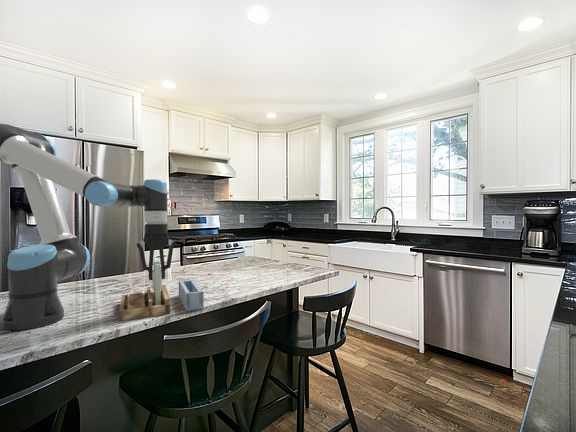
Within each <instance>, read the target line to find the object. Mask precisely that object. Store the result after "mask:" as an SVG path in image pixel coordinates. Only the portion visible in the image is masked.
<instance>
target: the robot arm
mask: <svg viewBox="0 0 576 432" xmlns="http://www.w3.org/2000/svg"><path fill="white" fill-rule="evenodd" d="M57 154H58V153H57V148H56V146H55V143H54V142H53V141H52V140H51V139H50V138H49V137H46V136H45V135H43V134H41V133H39V132H36V131H29V130H27V129H24V128H20V127H17V126H14V125H11V124H8V123H0V161H1V162H2V163H5V164H7V165H10V166H11V168H12V172H14V173H16V174H18V175H19V176H20V178H21V182H22V184H23V188H24V191H25V194H26V197H27V199H28V203H29V205H30V208H31V212H32V215H33V218H34V220H35V221H34V222H35V224H36V227H37V231H38V233H39V236H40V239H41V240H40V242H39V244H35V245H31V246H30V245H29V246H23V247H20V248H16V249H13V250H12V251H11V252H10V253H9V254H8V257H7V264H6V267H7V282H8V285H7V286H8V302H7V305H6V306H5V310H4V313H3V315H2V318H1V329H3V330H5V331H22V330H30V329H36V328H40V327H44V326H49V325H51V324H53V323H56V322H58V321H61V320H63V318H64V317H65V308H64V307H63V304H62V302H61V299H60V297H59V295H58V281H59V282H60V281H62V280H65V279H68V278H72V277H76V276H78V275H80V274H81V273H83V272H84V271H85V270H86V269H87V268H88V266H89V264H90V261H91V253H90V251H89V249H88V248H87V246H84V245H83V244H82V243H80V241H79V239H78V236H76V235H75V234H72V232H71V230H70V227H69V225H68V222H67V221H68V220H67V218H66V215H65V212H64V208H63V205H62V201H61V199H60V197H59V193H58V190H57V187H56V184H57V185H59V186H61V187H63V188H65V189H67V190H69V191H71V192H73V193H75V194H77V195H79V196H82V197H84V198H85V199H86V200H87V201H88V202H89V204H91V205H92V206H98V207H100V208H101V207H102V208H106V207H117V208H120V207H121V208H124V207H127V208H129V207H144V210H143V211H144V212H143V213H144V237H143V238H142V240H140V241H139V242H136V247H137V249H138V250H139V255H140V260H141V266H142V270H143V271H148V280H149V281H151V286H152V287H151V288H152V291H154V290H155V271H154V255H155V254H154V253H155V250H158V251H159V259H160V260H159V263H160V286H161V289H162V286H163V280H165V279H166V270H168V269H170V268H171V265H172V257H173V253H174V248H175V245H176V244H177V242H176V241H175V240H172V239H170V237H169V234H168V233H169V232H168V223H167V222H168V187H167V185H168V184H167V182H166V181H165V180H163V179H156V178H155V179H152V178H150V179H149V178H148V179H144V181H143V185H131V184H130V185H127V184H122V183H121V184H119V183H114V182H113V183H112V182H110V181H108V180H106V179H105V178H101V177H99V176H97V175H95V174H93V173H91V172H89V171H87V170H85V169H83V168H82V167H80V166H79V167H78V166H77V165H75V164H73V163H70V162H68V161H66V160H64V159H62V158H60V157H58V156H57ZM167 244H168V246H169V247H168V252H167V259H166V263H165V255H164V254H165V253H164V248H165V246H166V245H167ZM145 245H146V246H147V247H148V248H149V256H148V266H147V261H146V257H145V252H144V247H145Z"/></svg>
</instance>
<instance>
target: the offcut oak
mask: <svg viewBox="0 0 576 432" xmlns="http://www.w3.org/2000/svg"><path fill="white" fill-rule="evenodd" d="M145 304H146V301H145V299H144V304H138V305H130V303H129V301H128V303H127V309H134V308H141V307H146V305H145Z"/></svg>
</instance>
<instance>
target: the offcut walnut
mask: <svg viewBox="0 0 576 432" xmlns="http://www.w3.org/2000/svg"><path fill="white" fill-rule="evenodd" d="M128 294H129V293H128ZM129 303H130V305H138V304H144V295H143V293H135V294H129Z"/></svg>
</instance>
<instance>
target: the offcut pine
mask: <svg viewBox="0 0 576 432" xmlns="http://www.w3.org/2000/svg"><path fill="white" fill-rule="evenodd" d="M145 292H146V291H145V290H139V291H130V292H129V293H128V294H135V293H143V295H144V299H145ZM128 301H129V295H128V296H127V303H126V304H128Z"/></svg>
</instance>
